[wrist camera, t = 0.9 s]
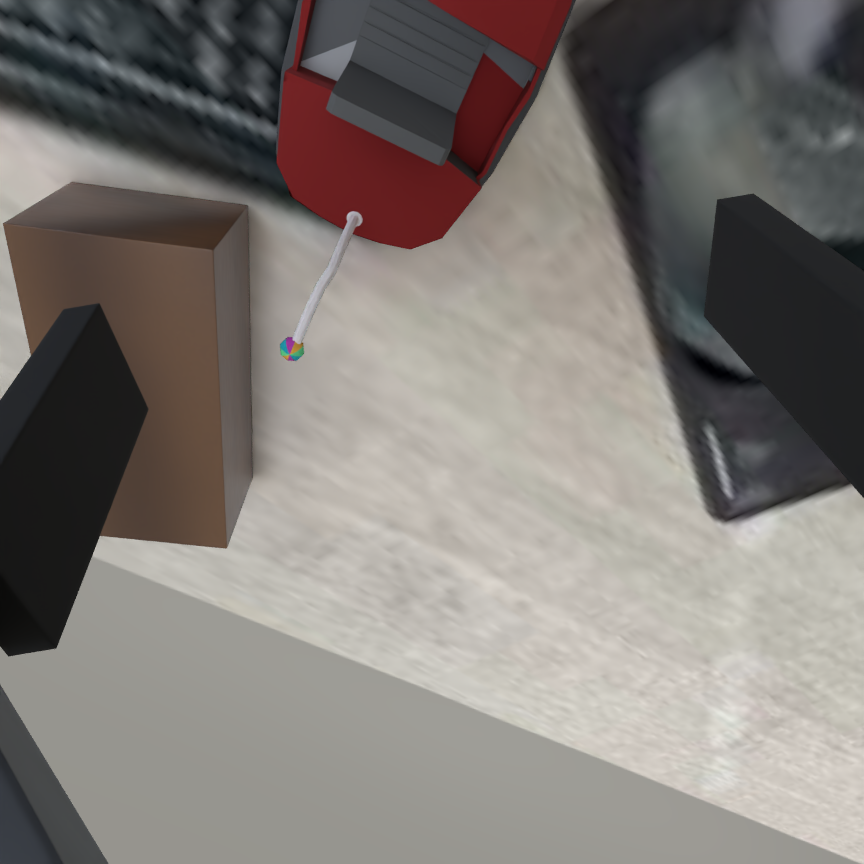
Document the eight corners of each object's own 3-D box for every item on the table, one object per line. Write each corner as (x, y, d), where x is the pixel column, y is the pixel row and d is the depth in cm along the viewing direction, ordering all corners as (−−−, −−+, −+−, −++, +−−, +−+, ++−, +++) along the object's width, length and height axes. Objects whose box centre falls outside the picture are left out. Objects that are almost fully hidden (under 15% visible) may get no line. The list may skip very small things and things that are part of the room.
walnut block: (248, 205, 32) (213, 249, 28) (252, 477, 41) (226, 548, 36) (70, 181, 32) (2, 223, 27) (113, 463, 41) (68, 532, 36)
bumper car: (657, -165, 25) (766, -226, 17) (425, 308, 35) (420, 417, 27) (402, -330, 23) (381, -497, 14) (233, 226, 33) (163, 317, 25)
